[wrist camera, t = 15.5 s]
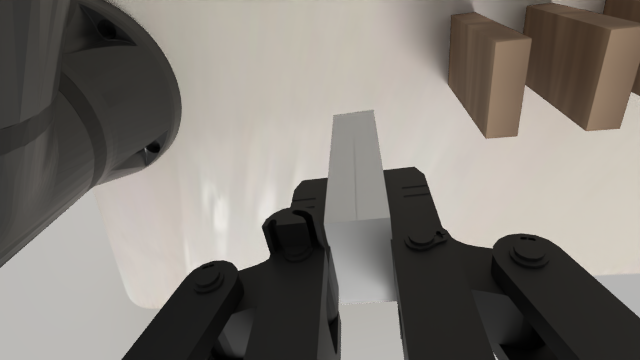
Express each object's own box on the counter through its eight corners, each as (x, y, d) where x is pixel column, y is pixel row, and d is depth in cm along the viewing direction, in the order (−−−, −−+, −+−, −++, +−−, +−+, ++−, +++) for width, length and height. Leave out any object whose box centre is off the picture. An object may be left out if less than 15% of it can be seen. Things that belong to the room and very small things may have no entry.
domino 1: (448, 84, 29) (485, 138, 20) (451, 15, 26) (495, 42, 18) (469, 82, 28) (517, 136, 20) (475, 12, 26) (532, 38, 17)
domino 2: (517, 78, 28) (585, 131, 19) (527, 5, 25) (611, 29, 17) (539, 76, 28) (619, 128, 19) (552, 2, 25) (650, 25, 17)
